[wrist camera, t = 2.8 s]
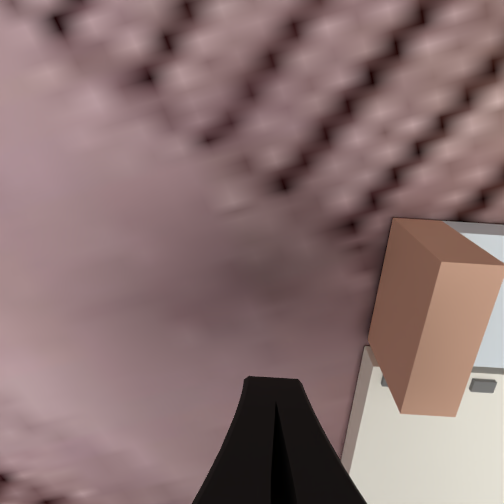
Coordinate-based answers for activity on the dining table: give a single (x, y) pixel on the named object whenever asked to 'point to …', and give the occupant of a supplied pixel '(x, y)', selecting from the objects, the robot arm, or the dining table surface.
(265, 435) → the robot arm
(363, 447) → the cream flat rectangular block
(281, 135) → the dining table surface
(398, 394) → the grey and tan bar
